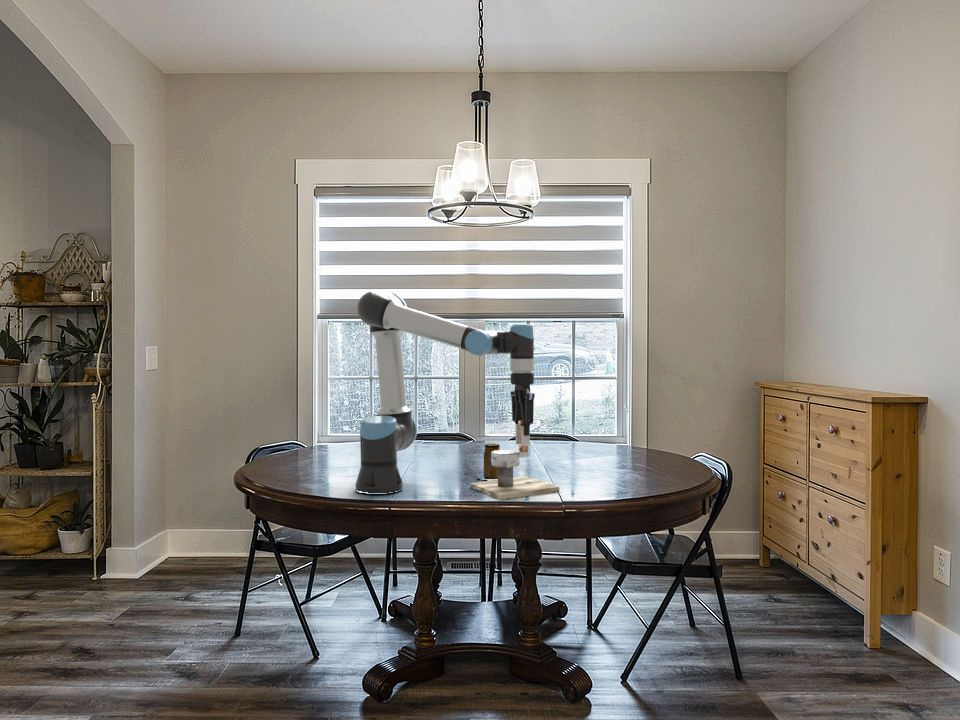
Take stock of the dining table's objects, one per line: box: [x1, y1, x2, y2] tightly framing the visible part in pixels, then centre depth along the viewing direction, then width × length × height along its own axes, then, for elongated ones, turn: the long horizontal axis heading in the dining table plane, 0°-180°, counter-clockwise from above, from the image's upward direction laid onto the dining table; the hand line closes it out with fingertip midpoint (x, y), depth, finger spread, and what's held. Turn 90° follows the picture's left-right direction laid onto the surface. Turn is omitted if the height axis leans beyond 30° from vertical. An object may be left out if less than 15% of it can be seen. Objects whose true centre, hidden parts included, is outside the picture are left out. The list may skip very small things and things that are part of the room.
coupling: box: [491, 420, 529, 468], centre depth 219 cm, size 12×10×14 cm
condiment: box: [482, 443, 501, 479], centre depth 237 cm, size 7×8×12 cm
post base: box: [469, 467, 560, 501], centre depth 220 cm, size 19×22×8 cm
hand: (522, 444), depth 220 cm, fingers open, 3 cm apart
